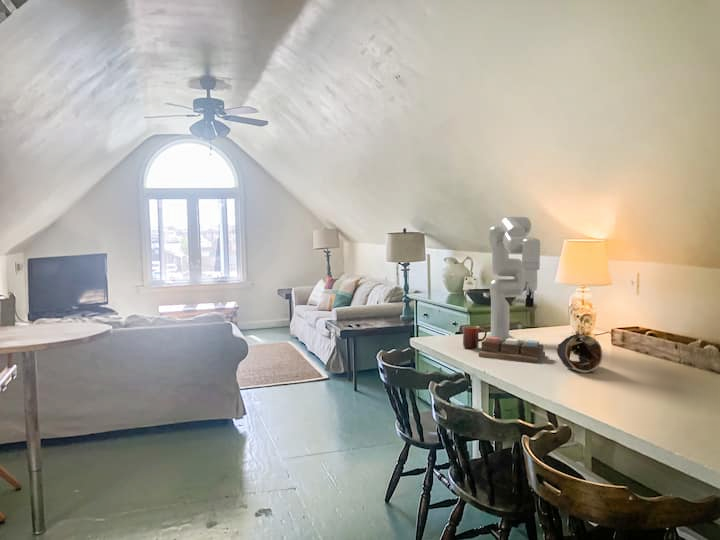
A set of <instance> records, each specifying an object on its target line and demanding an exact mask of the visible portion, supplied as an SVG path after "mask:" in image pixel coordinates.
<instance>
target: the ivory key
mask: <svg viewBox="0 0 720 540" xmlns="http://www.w3.org/2000/svg"><path fill="white" fill-rule="evenodd" d="M504 342H505V344H512V345H518V344H519V342H520V338H513V337H512V338H508V339H506V340H504Z"/></svg>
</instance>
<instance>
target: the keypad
mask: <svg viewBox="0 0 720 540" xmlns="http://www.w3.org/2000/svg"><path fill="white" fill-rule="evenodd" d="M478 357H480V358H489V359H498V360H508V361H516V362H525V363H530V364H531V363H534V364H538V363H539V362H540V361H541V360H542V359H544V358H545V357H546V351H544V344H543V343H542V344H541V343H539V346H538V347H531V346H525V343H524V342H521V341H519V344H518V345H512V344H505V340H500V342H498V343H492V342H486V339H484V340H483V341H481V350H480V351H478Z"/></svg>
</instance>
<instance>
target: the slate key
mask: <svg viewBox="0 0 720 540" xmlns="http://www.w3.org/2000/svg"><path fill="white" fill-rule="evenodd" d="M539 344H540V340H532V339H531V340H530V339H528V340H526V341H525V346H531V347H538V346H539Z"/></svg>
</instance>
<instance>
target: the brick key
mask: <svg viewBox="0 0 720 540" xmlns="http://www.w3.org/2000/svg"><path fill="white" fill-rule="evenodd" d="M485 340H486V342H492V343H498V342H500V337H491V336H489V337H488V336H486V338H485Z"/></svg>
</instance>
